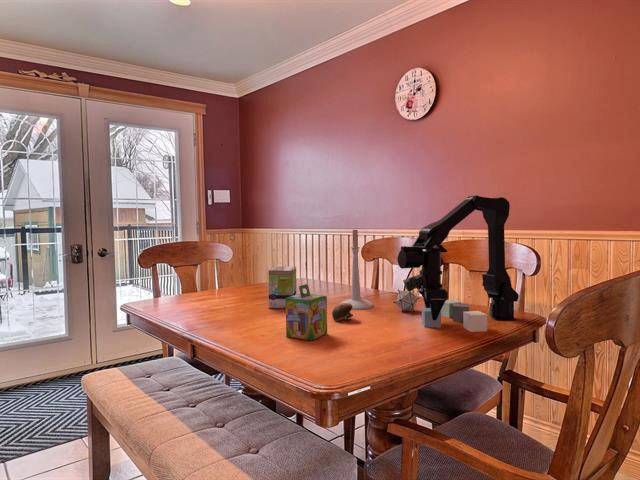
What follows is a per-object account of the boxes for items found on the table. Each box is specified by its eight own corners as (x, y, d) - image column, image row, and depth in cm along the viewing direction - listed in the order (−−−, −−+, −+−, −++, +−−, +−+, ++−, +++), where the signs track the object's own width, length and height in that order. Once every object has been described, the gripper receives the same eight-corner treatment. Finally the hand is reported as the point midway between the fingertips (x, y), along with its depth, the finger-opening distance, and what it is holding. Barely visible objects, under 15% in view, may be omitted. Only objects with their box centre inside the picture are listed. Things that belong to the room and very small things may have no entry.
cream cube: (479, 327, 130) (479, 311, 129) (487, 331, 125) (487, 314, 124) (463, 327, 129) (463, 311, 129) (470, 332, 124) (470, 315, 124)
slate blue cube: (437, 323, 135) (437, 307, 135) (441, 327, 130) (441, 311, 130) (421, 323, 135) (421, 308, 135) (424, 327, 130) (424, 311, 130)
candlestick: (378, 304, 165) (377, 228, 163) (363, 311, 154) (362, 229, 153) (349, 301, 172) (348, 228, 170) (333, 307, 161) (332, 229, 160)
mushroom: (361, 309, 143) (350, 294, 142) (354, 322, 136) (342, 308, 135) (344, 317, 147) (333, 303, 146) (336, 331, 141) (324, 317, 140)
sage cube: (451, 313, 148) (451, 299, 148) (461, 316, 143) (461, 302, 143) (439, 315, 146) (439, 300, 146) (449, 318, 142) (449, 303, 141)
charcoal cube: (469, 318, 140) (469, 303, 140) (469, 322, 136) (469, 306, 135) (453, 317, 142) (453, 303, 142) (452, 321, 137) (452, 306, 137)
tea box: (294, 308, 161) (293, 269, 161) (268, 308, 161) (267, 270, 161) (297, 300, 176) (296, 265, 176) (273, 300, 176) (272, 265, 176)
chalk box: (311, 341, 117) (310, 288, 116) (285, 337, 122) (283, 286, 121) (328, 333, 125) (328, 284, 124) (303, 329, 129) (302, 282, 129)
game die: (411, 322, 152) (419, 303, 145) (388, 313, 153) (396, 294, 147) (415, 306, 158) (423, 287, 152) (393, 297, 160) (401, 279, 154)
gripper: (401, 264, 141) (401, 310, 142) (409, 271, 123) (409, 324, 124) (435, 263, 141) (435, 310, 142) (448, 270, 122) (448, 324, 123)
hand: (431, 316), depth 132 cm, fingers open, 9 cm apart
